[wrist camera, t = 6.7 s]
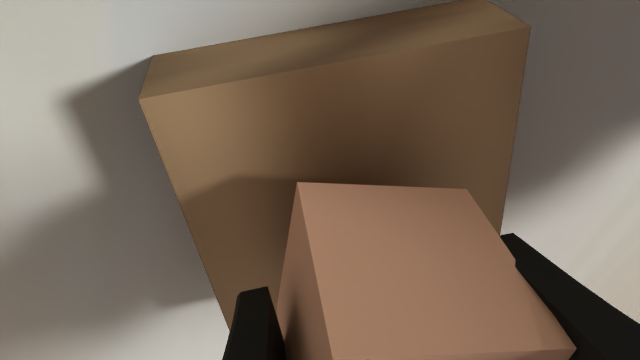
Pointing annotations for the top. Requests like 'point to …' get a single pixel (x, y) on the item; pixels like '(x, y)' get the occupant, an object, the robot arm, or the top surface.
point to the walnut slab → (332, 124)
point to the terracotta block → (406, 280)
